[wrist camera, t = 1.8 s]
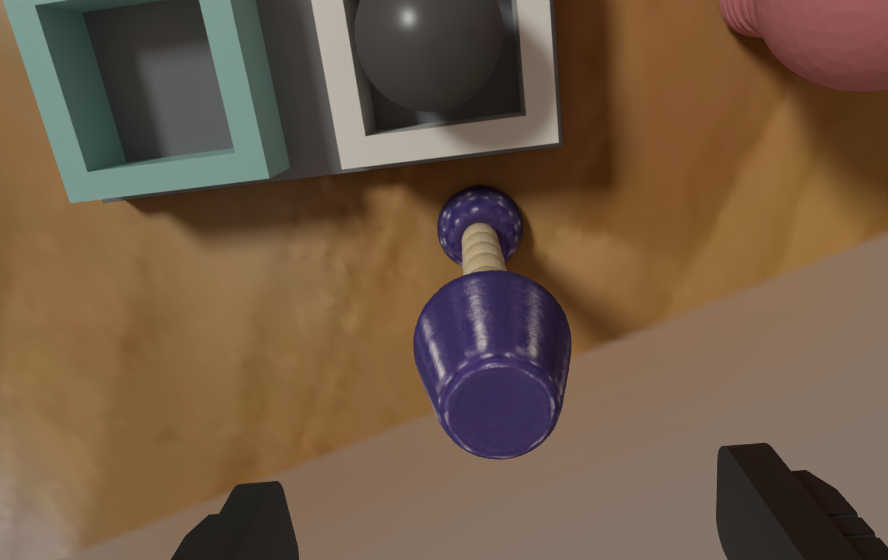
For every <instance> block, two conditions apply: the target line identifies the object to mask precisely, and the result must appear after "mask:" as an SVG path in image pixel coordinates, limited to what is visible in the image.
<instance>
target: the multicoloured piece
mask: <svg viewBox="0 0 888 560" xmlns="http://www.w3.org/2000/svg"><path fill="white" fill-rule="evenodd" d="M3 2H4V5H5V8H6V11H7V14H8V17H9V20H10V23H11V26H12V29H13V32H14V35H15V38H16V41H17V44H18V47H19V50H20V53H21V56H22V59H23V62H24V65H25V68H26V71H27V74H28V77H29V80H30V83H31V86H32V89H33V92H34V96H35V99H36V102H37V105H38V108H39V111H40V114H41V117H42V120H43V123H44V126H45V129H46V132H47V135H48V138H49V141H50V144H51V147H52V150H53V153H54V156H55V159H56V162H57V165H58V168H59V171H60V174H61V177H62V180H63V183H64V186H65V189H66V192H67V195H68V198H69V201H70V203H76V202H84V201H92V200H100V199H102V202H103V203H107V202H115V201H123V200H131V199H139V198H148V197H156V196H164V195H172V194H180V193H188V192H196V191H204V190H213V189H221V188H229V187H237V186H245V185H253V184H261V183H269V182H277V181H286V180H294V179H302V178H310V177H318V176H326V175H334V174H342V173H351V172H359V171H367V170H375V169H383V168H391V167H399V166H407V165H415V164H424V163H432V162H440V161H448V160H456V159H464V158H472V157H480V156H488V155H497V154H505V153H513V152H521V151H529V150H537V149H545V148H553V147H562V146H563V135H562V119H561V104H560V88H559V72H558V57H557V41H556V25H555V10H554V0H3Z"/></svg>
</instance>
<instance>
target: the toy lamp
mask: <svg viewBox="0 0 888 560" xmlns="http://www.w3.org/2000/svg"><path fill="white" fill-rule="evenodd" d="M437 230H438V238H439V242H440V244H441V246H442V248H443V250H444V252H445V253H446V254H447V256H448V257H449V258H450V259H451V260H453V261H454V262H455V263H457V264H458V265H460V266H462V267H463V271H464V272H463V276H461V277H459V278H457V279H454V280H452V281H451V282H449V283H447V284H446V285H444V286H443V287H442V288H440V289H439V291H438V292H437V293H435V294H434V295H433V296H432V298H431V299H430V300H429V301H428V303H427V304H426V305H425V307H424V308H423V310H422V312H421V314H420V316H419V319H418V322H417V325H416V328H415V333H414V357H415V363H416V366H417V369H418V372H419V374H420V377H421V380H422V382H423V385H424V387H425V390H426V392H427V394H428V397H429V399H430V401H431V404H432V406H433V408H434V411H435V413H436V415H437V418H438V420H439V422H440V424H441V426H442V427H443V429H444V430H445V431H446V433H447V435H448V436H449V437H450V438H451V439H452V440H453V441H454V442H455V443H456V444H457V445H458V446H460V447H461V448H462V449H464V450H465V451H467V452H469V453H471V454H474V455H476V456H479V457H483V458H488V459H509V458H514V457H518V456H521V455H523V454H525V453H528V452H530V451H532V450H533V449H535V448H536V447H538V446H539V445H540V444H541V443H542V442H543V441H544V440H545V439H546V438H547V437H548V436H549V435H550V434H551V432H552V431H553V430H554V428H555V426H556V423H557V421H558V418H559V415H560V412H561V409H562V404H563V398H564V393H565V388H566V382H567V377H568V371H569V364H570V357H571V333H570V329H569V325H568V321H567V318H566V315H565V313H564V311H563V310H562V308H561V306H560V305H559V303H558V302H557V301H556V299H555V298H554V297H553V296H552V295H551V294H550V293H549V292H548V291H547V290H546V289H545V288H544V287H543V286H541V285H540V284H538V283H536V282H535V281H533V280H531V279H529V278H527V277H525V276H522V275H520V274H517V273H513V272H510V271H507V269H506V266H505V262H506V261H507V260H508V259H509V258H510V257H511V256H512V255H513V254H514V253H515V251H516V250H517V248H518V246H519V243H520V241H521V238H522V232H523V223H522V217H521V214H520V212H519V210H518V208H517V206H516V204H515V203H514V202H513V200H512V199H511V198H510V197H509V196H507V195H506V194H505V193H503V192H502V191H500V190H498V189H495V188H492V187H488V186H473V187H469V188H466V189H464V190H462V191H460V192H458V193H457V194H455V195H454V196H452V197H451V198H450V199H449V200H448V201H447V202H446V204H445V205H444V206H443V208H442V210H441V212H440V215H439V219H438V227H437Z"/></svg>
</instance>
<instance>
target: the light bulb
mask: <svg viewBox="0 0 888 560" xmlns="http://www.w3.org/2000/svg"><path fill="white" fill-rule="evenodd" d="M719 7H720V11H721V14H722V17H723V19H724V21H725V22H726V23H727V25H728V26H729V27H730V28H731V29H733V30H734V31H735V32H738V33H740V34H742V35H746V36H752V37H758V38H763V39H764V41H765V43H766V45H767V46H768V48H769V49H770V51H771V52H772V53H773V55H774V56H775V57H776V58H777V59H778V60H779V61H780V62H781V63H782V64H783V65H784V66H786V67H787V68H788V69H789V70H790V71H792V72H794V73H795V74H797V75H799V76H801V77H802V78H804V79H806V80H808V81H810V82H812V83H815V84H818V85H821V86H824V87H828V88H832V89H837V90H844V91H860V92H865V91H878V90H885V89H888V0H719Z"/></svg>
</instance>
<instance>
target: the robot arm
mask: <svg viewBox="0 0 888 560" xmlns="http://www.w3.org/2000/svg"><path fill="white" fill-rule="evenodd" d="M716 504H717V505H716V521H717V528H718V534H719V538H720V542H721V545H722V548H723V550H724V552H725V555H726V557H727V559H728V560H888V547H887V546H886V545H885V544H884V543H883V541H882V540H881V539H880V538H876V537H875V533H874V531H873V530H872V529H871V528H870V527H869V526H868V524H867V523H866V522H865V521H864V520H863V519H862V518H861V517H860V518H859V517H858V515H857V512H856V511H855V510H854V509H853V508H852V506H851V505H850V504H849V503H848V502H847V501H846V500H845V498H844V497H843V496H842V495H841V494H840V493H839V492H838V491H837V489H835V488H834V487H832V486H831V485H829V484H827V483H826V482H824V481H823V480H821V479H819V478H818V477H816V476H815V475H813V474H811V473H810V472H808V471H806V470H800V471H791V470H790V469H789V468H788V467H787V466H786V464H785V463H784V462H783V460H782V459H781V458H780V457H779V456H778V454H777V453H776V452H775V451H774V450H773V448H772V447H771V446H770V445H769V444H767V443H756V444H744V445H732V446H722V447H721V448H720V449H719V451H718V462H717V503H716ZM171 560H299V553H298V546H297V541H296V537H295V533H294V530H293V525H292V522H291V518H290V514H289V510H288V506H287V502H286V498H285V494H284V490H283V488H282V485H281V484H280V483H279V482H278V481H272V482H260V483H247V484H238V485H236V486H235V487H234V489H233V490H232V492H231V494H230V496H229V497H228V499H227V501H226V503H225V504H224V506H223V508H222V510H221V512H220V513H219V514H212V515H208V516H207V517H206V518H205V519H203V521H201V522H200V523H199V524H198V525H197V526H196V527H195V528H194V529H193V530H191V531H190V532H189V533H188V534H187V535H186V536H185V537H184V539H183V541H182V542H181V544H180V546H179V547H178V549H177V550H176V552H175V554H174V555H173V557H172V559H171Z"/></svg>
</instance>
